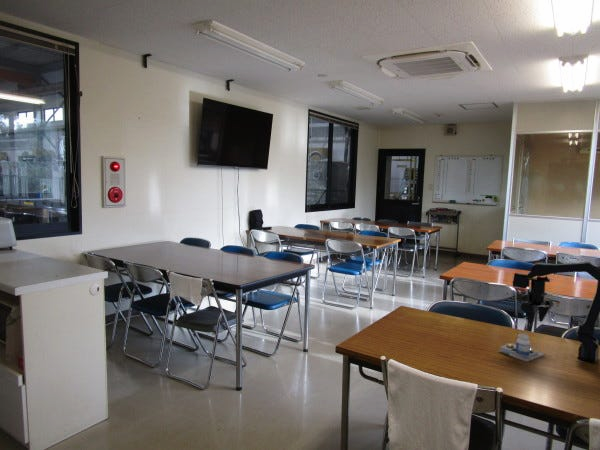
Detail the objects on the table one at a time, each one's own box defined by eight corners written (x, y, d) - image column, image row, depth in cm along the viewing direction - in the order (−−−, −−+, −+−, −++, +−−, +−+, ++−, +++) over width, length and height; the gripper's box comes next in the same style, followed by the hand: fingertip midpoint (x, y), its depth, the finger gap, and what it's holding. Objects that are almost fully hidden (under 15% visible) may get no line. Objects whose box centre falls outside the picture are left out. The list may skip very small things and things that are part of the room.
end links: (542, 355, 188) (543, 348, 188) (526, 361, 181) (527, 354, 181) (516, 346, 199) (516, 339, 198) (499, 351, 192) (500, 345, 191)
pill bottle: (517, 352, 191) (518, 331, 190) (530, 355, 188) (532, 334, 187) (514, 356, 187) (515, 335, 186) (527, 359, 183) (529, 338, 183)
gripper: (530, 284, 206) (528, 315, 207) (509, 289, 195) (507, 321, 197) (554, 288, 197) (552, 321, 198) (534, 294, 186) (532, 328, 187)
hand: (535, 322), depth 195 cm, fingers open, 9 cm apart
